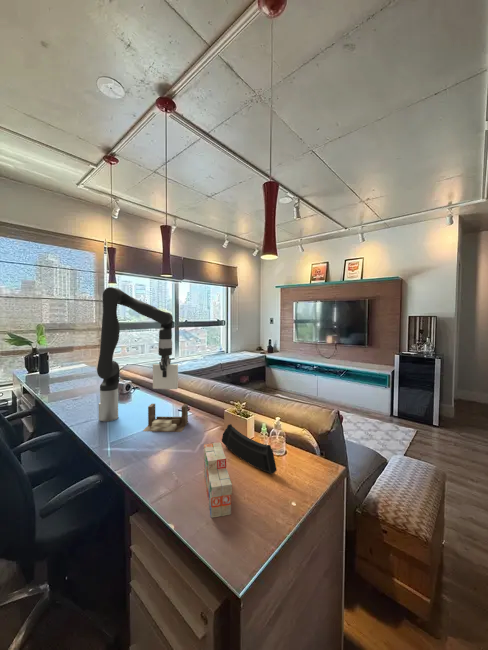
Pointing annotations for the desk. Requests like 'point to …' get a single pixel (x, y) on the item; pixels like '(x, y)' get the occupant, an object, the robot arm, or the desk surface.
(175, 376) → the white square panel
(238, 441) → the magazine
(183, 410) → the rack
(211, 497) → the stack of blocks
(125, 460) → the desk surface
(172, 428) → the offcut lower
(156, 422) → the offcut upper
